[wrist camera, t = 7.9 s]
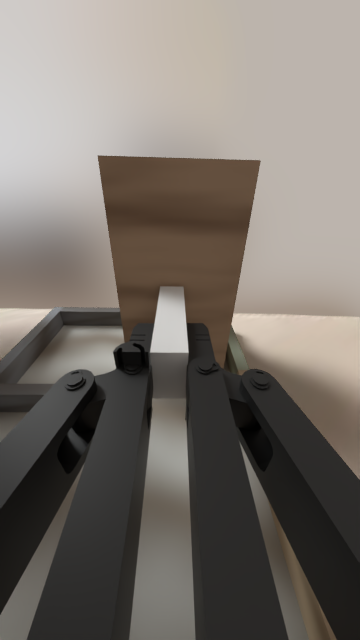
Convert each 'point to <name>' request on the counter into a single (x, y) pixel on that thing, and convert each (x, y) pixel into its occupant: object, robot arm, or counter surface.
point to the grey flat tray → (159, 493)
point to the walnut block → (178, 236)
